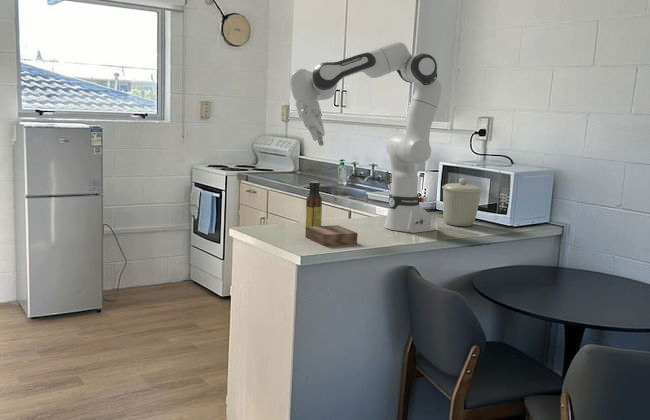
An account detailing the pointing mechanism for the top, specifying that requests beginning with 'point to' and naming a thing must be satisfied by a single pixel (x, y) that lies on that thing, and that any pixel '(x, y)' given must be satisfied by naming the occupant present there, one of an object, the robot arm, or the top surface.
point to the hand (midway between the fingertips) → (318, 142)
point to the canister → (460, 203)
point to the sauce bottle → (313, 206)
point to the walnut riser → (331, 235)
